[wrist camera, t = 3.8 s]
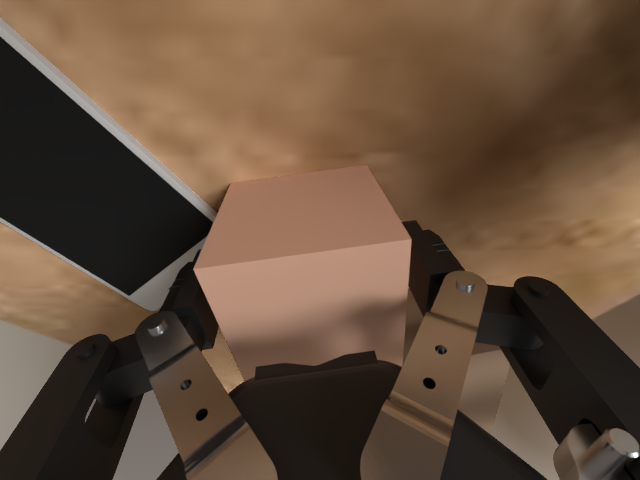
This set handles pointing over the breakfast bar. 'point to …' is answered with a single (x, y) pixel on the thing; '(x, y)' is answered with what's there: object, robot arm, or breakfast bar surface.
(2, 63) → the smartphone
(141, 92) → the breakfast bar surface
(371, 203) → the terracotta cube
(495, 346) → the walnut block
